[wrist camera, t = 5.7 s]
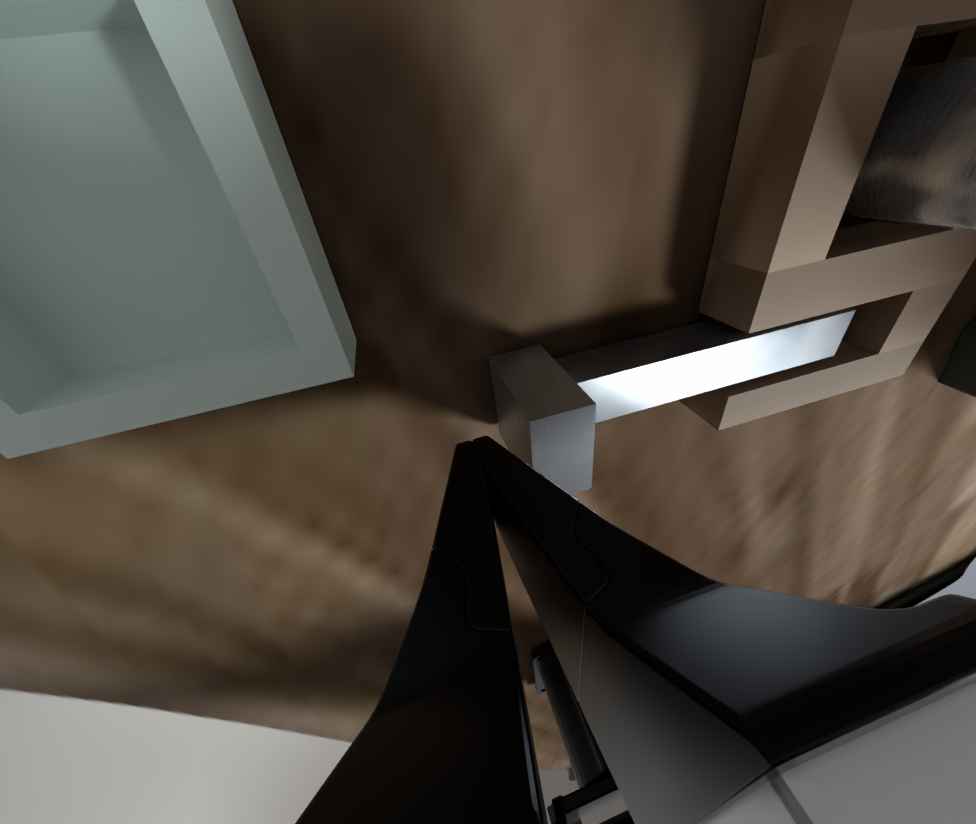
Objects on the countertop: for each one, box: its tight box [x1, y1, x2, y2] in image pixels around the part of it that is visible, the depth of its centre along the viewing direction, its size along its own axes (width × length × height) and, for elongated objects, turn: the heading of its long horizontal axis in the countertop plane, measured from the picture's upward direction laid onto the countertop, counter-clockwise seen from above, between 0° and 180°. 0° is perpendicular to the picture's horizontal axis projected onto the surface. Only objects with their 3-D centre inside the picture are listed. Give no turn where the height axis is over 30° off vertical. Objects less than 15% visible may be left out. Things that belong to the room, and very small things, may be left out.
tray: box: [0, 0, 356, 459], centre depth 6 cm, size 7×7×2 cm
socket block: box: [679, 0, 976, 430], centre depth 11 cm, size 11×8×2 cm
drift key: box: [489, 308, 856, 495], centre depth 11 cm, size 3×12×3 cm, turn 97°
